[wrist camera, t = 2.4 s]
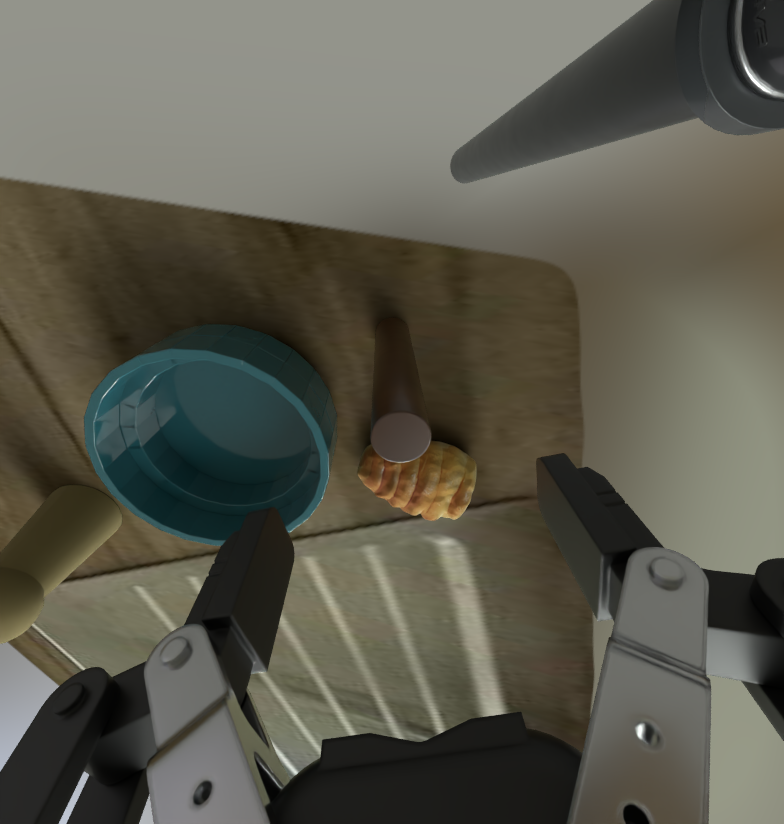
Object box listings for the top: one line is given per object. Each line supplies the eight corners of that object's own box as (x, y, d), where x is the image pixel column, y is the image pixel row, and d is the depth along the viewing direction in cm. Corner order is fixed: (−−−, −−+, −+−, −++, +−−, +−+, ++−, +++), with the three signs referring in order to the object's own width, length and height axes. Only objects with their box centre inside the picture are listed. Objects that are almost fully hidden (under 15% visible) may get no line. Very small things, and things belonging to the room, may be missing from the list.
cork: (125, 540, 36) (30, 663, 26) (55, 530, 35) (-69, 653, 26) (119, 490, 33) (11, 607, 24) (43, 479, 33) (-101, 594, 23)
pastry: (350, 483, 34) (347, 514, 30) (371, 418, 31) (370, 444, 27) (450, 506, 35) (458, 538, 32) (480, 446, 32) (491, 474, 29)
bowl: (303, 299, 26) (283, 323, 21) (358, 475, 33) (354, 526, 28) (97, 346, 27) (29, 379, 22) (193, 506, 34) (158, 561, 29)
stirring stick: (405, 313, 27) (426, 405, 14) (411, 346, 28) (436, 457, 15) (372, 321, 27) (363, 417, 15) (379, 353, 28) (377, 468, 16)
